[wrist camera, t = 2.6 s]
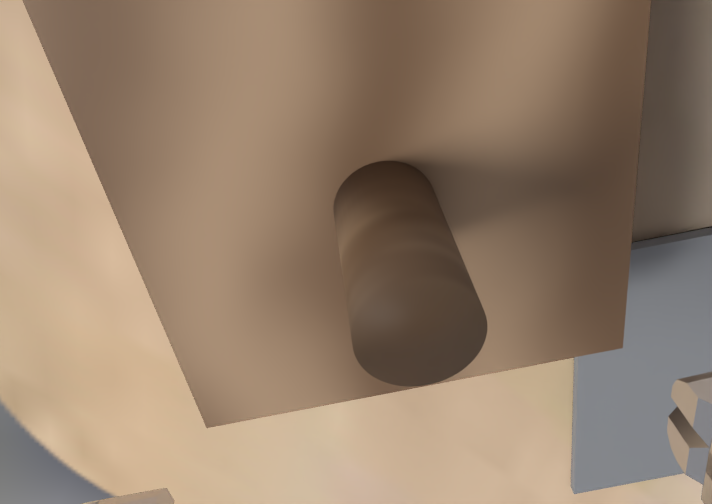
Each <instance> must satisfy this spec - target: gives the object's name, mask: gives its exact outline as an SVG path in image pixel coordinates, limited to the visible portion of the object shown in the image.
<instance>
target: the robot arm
mask: <svg viewBox="0 0 712 504" xmlns="http://www.w3.org/2000/svg"><path fill="white" fill-rule="evenodd" d="M671 398H672V399H673V401H674V402H675V403H676V405H677V407H676V408H675V409H674V411H673V412H672V413H671V414H670V415H669V416H668V426H667V433H668V437H669V442H670V446H671V449H672V451H673V454H674V456H675V458H676V460H677V462H678V464H679V465H680V467H681V468H682V470H683V472H684V473H685V475H687V476H689V477H691V478H692V479H694V480H696V481H698V482H699V483H701V484H703V488H702V495H701V500H702V501H703V503H704V504H712V372H708V373H703V374H699V375H694V376H690V377H685V378H681V379H677V380H676V381H675V383H674V384H673V386H672V392H671ZM82 504H174V499H173V498H172V496H171V494H170V493H169V491H168V489H167V488H163V489H157V490H151V491H146V492H140V493H135V494H129V495H124V496H118V497H113V498H107V499H102V500H98V501H93V502H88V503H82Z"/></svg>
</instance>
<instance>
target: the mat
mask: <svg viewBox="0 0 712 504" xmlns="http://www.w3.org/2000/svg"><path fill="white" fill-rule="evenodd" d="M708 372H712V227H711V228H706V229H701V230H696V231H690V232H685V233H680V234H675V235H670V236H665V237H659V238H654V239H649V240H644V241H639V242H634V243H631V254H630V267H629V279H628V291H627V304H626V316H625V328H624V340H623V348H621V349H616V350H610V351H605V352H600V353H595V354H590V355H584V356H579V357H574V386H573V423H572V461H571V488H572V490H573V493H574V494H577V493H582V492H588V491H593V490H598V489H603V488H609V487H614V486H619V485H624V484H630V483H635V482H640V481H646V480H651V479H656V478H661V477H667V476H672V475H677V474H682V473H684V472H683V470H682V468H681V467H680V465H679V464H678V462H677V460H676V458H675V456H674V454H673V451H672V449H671V446H670V442H669V437H668V433H667V426H668V416H669V415H670V414H671V413H672V412H673V411H674V409H675V408H676V407H677V405H676V403H675V402H674V401H673V399H672V398H671V392H672V386H673V384H674V383H675V381H676V380H677V379H681V378H685V377H690V376H694V375H699V374H703V373H708Z"/></svg>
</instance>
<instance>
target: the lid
mask: <svg viewBox="0 0 712 504" xmlns="http://www.w3.org/2000/svg"><path fill="white" fill-rule="evenodd" d="M23 3H24V5H25V7H26V9H27V12H28V14H29V16H30V19H31V21H32V23H33V26H34V28H35V30H36V33H37V35H38V37H39V40H40V42H41V44H42V47H43V49H44V51H45V54H46V56H47V58H48V61H49V63H50V65H51V68H52V70H53V72H54V74H55V77H56V79H57V81H58V84H59V86H60V88H61V91H62V93H63V95H64V98H65V100H66V102H67V105H68V107H69V109H70V112H71V114H72V116H73V119H74V121H75V123H76V126H77V128H78V130H79V133H80V135H81V137H82V139H83V142H84V144H85V146H86V149H87V151H88V153H89V156H90V158H91V160H92V163H93V165H94V167H95V170H96V172H97V174H98V177H99V179H100V181H101V184H102V186H103V188H104V191H105V193H106V195H107V197H108V200H109V202H110V204H111V207H112V209H113V211H114V214H115V216H116V218H117V221H118V223H119V225H120V228H121V230H122V232H123V235H124V237H125V239H126V242H127V244H128V246H129V249H130V251H131V253H132V256H133V258H134V260H135V262H136V265H137V267H138V269H139V272H140V274H141V276H142V279H143V281H144V283H145V286H146V288H147V290H148V293H149V295H150V297H151V300H152V302H153V304H154V307H155V309H156V311H157V314H158V316H159V318H160V321H161V323H162V325H163V327H164V330H165V332H166V334H167V337H168V339H169V341H170V344H171V346H172V348H173V351H174V353H175V355H176V358H177V360H178V362H179V365H180V367H181V369H182V372H183V374H184V376H185V379H186V381H187V383H188V385H189V388H190V390H191V392H192V395H193V397H194V399H195V402H196V404H197V406H198V409H199V411H200V413H201V416H202V418H203V420H204V423H205V425H206V427H207V428H209V427H215V426H220V425H225V424H230V423H235V422H241V421H246V420H251V419H256V418H261V417H267V416H272V415H277V414H282V413H287V412H293V411H298V410H303V409H308V408H314V407H319V406H324V405H329V404H334V403H340V402H345V401H350V400H355V399H360V398H366V397H371V396H376V395H381V394H386V393H392V392H397V391H402V390H407V389H412V388H418V387H423V386H428V385H433V384H439V383H444V382H449V381H454V380H459V379H465V378H470V377H475V376H480V375H485V374H491V373H496V372H501V371H506V370H511V369H517V368H522V367H527V366H532V365H537V364H543V363H548V362H553V361H558V360H564V359H569V358H574V357H579V356H584V355H590V354H595V353H600V352H605V351H610V350H616V349H621V348H623V340H624V328H625V316H626V304H627V291H628V279H629V267H630V254H631V242H632V230H633V218H634V205H635V193H636V181H637V169H638V156H639V144H640V132H641V119H642V107H643V95H644V83H645V70H646V58H647V46H648V33H649V21H650V9H651V0H23Z"/></svg>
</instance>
